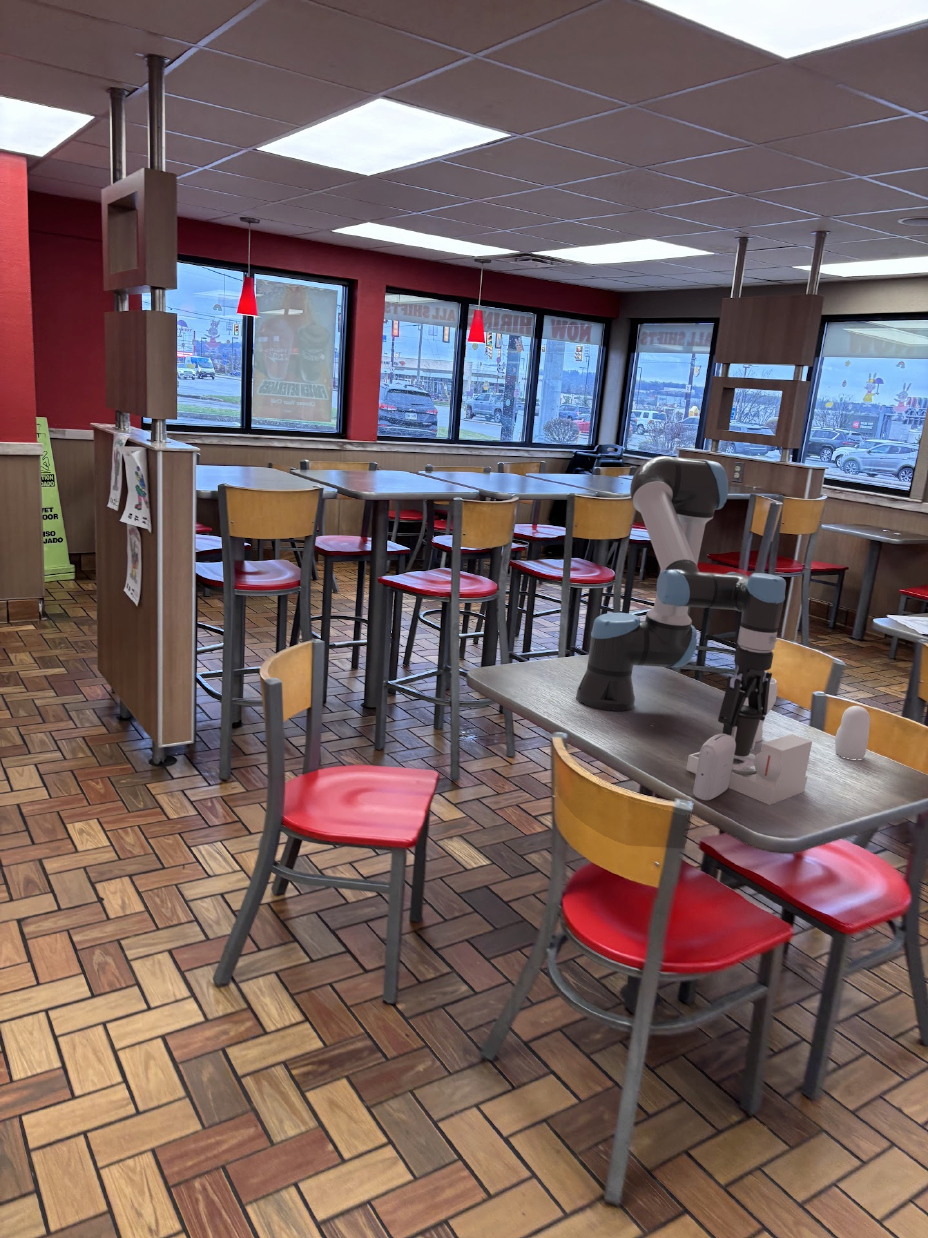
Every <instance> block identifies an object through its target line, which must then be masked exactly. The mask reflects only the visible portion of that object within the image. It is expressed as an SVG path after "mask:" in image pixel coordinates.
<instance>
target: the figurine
mask: <svg viewBox="0 0 928 1238" xmlns="http://www.w3.org/2000/svg"><path fill="white" fill-rule="evenodd" d="M870 726H871V716H870V714H869V712H868V710H867V709H866V708H864V707H862V706H860V705H853V706H849V707H848V708H846V709H845V711H844V712H843V713H842V717H841V721H840V726H839V727H838V729H837V731H836V735H835V739H834V740H835V741H834V743H835V744H834V746H835V748H834V749H835V750H834V751H835V754H836V755H837V754H838V755H839V756H838V755H837V756H838V757H840V756H842V757H845V758H849V759H856V760H858V759H862V760H863V759H864V757H865V755H866V752H867V748H868V743H869V735H870V734H869V733H870V728H871V727H870ZM842 757H841V758H842ZM845 758H844V759H845Z"/></svg>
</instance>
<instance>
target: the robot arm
mask: <svg viewBox="0 0 928 1238" xmlns="http://www.w3.org/2000/svg"><path fill="white" fill-rule="evenodd" d="M728 479H729V478H728V476H727V472H726V469H725V468H724V466H722V464H720V463H719V462H717V461H713V460H708V459H702V458H688V457H675V456H670V455H669V456H667V455H661V456H656V457H652V458H650V459H648V460H647V461H644V463H642V464H641V465H640V466H639V468H637V470H636V471H635V473H634V475H633V477H632V478H631V482H630V487H629V489H630V490H629V491H630V492H629V493H630V494H629V495H630V500H631V502H632V505H633V507H634V509H635V510H636V511H637V512H639V513H640V514H641V515H640V516H641V517H642V519H643V522H644V525H645V528H646V531H647V533H648V537H649V540H650V543H651V545H652V548H653V551H654V554H655V557H656V560H657V562H658V565H659V568H660V573H659V575H658V577H657V581H656V595H655V600H654V604H653V607H652V608H651V609H649V610H648V611H647V612H646V615H645V620H641V618H640V616H639V615H637V614H633V613H629V612H627V613H625V612H609V613H603V614H601V615H599V616H597V617H596V618H594V621H593V624H592V625H593V626H592V630H591V632H590V636H591V637H590V642H589V643H590V644H589V653H588V658H587V659H588V660H587V666H586V671H585V673H584V675H583V677H582V679H581V680H580V681H581V682H580V683H579V686H578V687H577V689H576V700H577V699H578V700H579V701H581V702H582V703H581V702H580V703H581V704H583V703H584V704H583V705H585V706H587V705H588V707H591V708H595V709H598V710H604V711H611V712H612V711H613V712H615V711H618V712H621V711H624V712H625V711H629V710H632V709H633V708H634V707H635V703H636V700H635V699H636V696H635V694H634V692H635V691H634V685H633V680H632V677H633V667H634V666H641V667H642V666H644V667H658V668H659V667H662V668H666V669H671V668H682V667H684V666H685V665H687V664H689V662H691V660H692V658H693V657H694V654H695V652H696V649H697V643H698V639H697V636H698V633H697V630H696V627H695V626H694V625H692V622H693V620H692V618H691V617H690V616H689V615H688V612H689V607H691V608H709V609H718V610H719V609H720V610H733V611H738V612H740V613H741V619H740V626H739V630H738V631H739V632H738V636H737V641H736V644H737V645H738V646H736V649H735V653H734V657H733V658H734V659H733V662H734V663H735V665H737V667H738V670H737V672H736V674H735V676H736V677H735V676H733V677H732V676H728V677H727V680H726V689H725V692H724V696H723V700H722V703H721V707H720V711H719V714H718V718H717V722H718V723H720V724H723V726H722V727H723V728H722V733H721V734H727V735H730V736H732V737H733V738H734V740H735V737H736V732H737V726H735V724H736V722H737V719H738V717H739V714H740V712H741V709H742V707H743V704H744V702H745V699H746V698H747V697H748V705H749V706H750V707H752V708H754V709H757V710H759V711H760V712H761V713H762V715H764V716H765V715H766V714H767V707H768V696H769V686H770V681H771V678H773V677H772V676H773V673H772V672H770V671H769V670H770V669H771V668H772V664H773V659H774V655H775V654H774V652H773V650H775V647H776V642H777V641H778V638H777V636H778V630H779V627H780V622H781V617H782V612H783V606H784V603H785V602H784V601H785V600H786V595H785V594H786V586H787V582H786V579H784V578H783V577H782V576H779V575H774V574H770V573H769V574H768V573H765V572H764V573H763V572H762V573H761V572H753V573H751V574H750V575H746V574H745V573H742V572H740V573H739V572H735V571H729V572H727V573H715V572H713V573H712V572H702V571H701V572H700V569H699V568H698V563H699V557H700V553H701V547H702V543H703V537H704V532H705V527H706V524H707V523H708V522H709V521H711V520H713V518H714V516H715V515H714V514H715V511H716V510H721V509H722V508H723V507H724V506H725V504H726V503H727V501H728V500H727V499H728V495H729V480H728ZM763 681H764V682H763ZM740 690H741V691H740ZM742 691H744V692H742ZM578 700H577V701H578ZM579 701H578V702H579ZM762 708H763V709H762ZM767 715H768V714H767ZM767 715H766V716H767ZM764 716H763V718H761V719H760V720H762V721H765V719H766V717H764ZM757 731H758V728H757ZM757 731H756V734H755V737H754V741H753V744H752V747H751V751H753V750H754V749H755V746H756V742H755V741H756V736H757Z"/></svg>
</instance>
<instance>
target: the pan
mask: <svg viewBox="0 0 928 1238" xmlns="http://www.w3.org/2000/svg"><path fill="white" fill-rule="evenodd" d="M756 756H757V754H756V755H755V754H753V753H751V752H750V753H749V755H748V756H736V755H734V759H733V765H732V771H731V772H734V773H736V774H756V773H757V772H756V770H755V766H754V760H755V757H756Z"/></svg>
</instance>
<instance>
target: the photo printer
mask: <svg viewBox="0 0 928 1238" xmlns="http://www.w3.org/2000/svg"><path fill="white" fill-rule="evenodd" d="M735 748H736V742H735V740H734V738H733V737H732V736H730V735H727V734H722V733H718V734H715V735H713V736H712V737H710V738H708V739H707V740H706V741H705V742H704V743H703V744H702V746H701V747H700V750H699V752H700V754H699V760H698V766H697V772H696V774H695V780H694V785H693V790H692V795H693V796H694V797H696V798H697V799H699V800H702V801H712V800H713V799H715V798H717V797H718V796H720V795H721V794H723V793H725V792H726V791H727V790H728V789H729V788H728V786H729V782H730V776H731V771H732V765H733V759H734V754H735Z"/></svg>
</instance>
